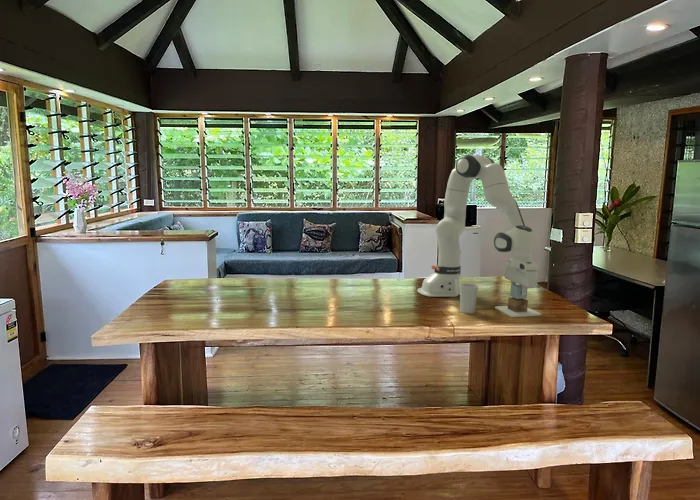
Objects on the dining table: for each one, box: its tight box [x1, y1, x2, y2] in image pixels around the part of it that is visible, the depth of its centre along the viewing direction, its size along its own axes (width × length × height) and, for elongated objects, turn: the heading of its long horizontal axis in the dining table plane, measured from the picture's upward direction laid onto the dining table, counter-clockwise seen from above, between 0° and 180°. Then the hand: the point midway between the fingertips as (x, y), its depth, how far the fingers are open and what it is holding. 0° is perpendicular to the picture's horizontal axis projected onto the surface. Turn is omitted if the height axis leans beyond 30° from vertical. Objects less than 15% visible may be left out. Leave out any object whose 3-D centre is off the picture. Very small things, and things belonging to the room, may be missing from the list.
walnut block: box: [507, 296, 529, 312], centre depth 214 cm, size 6×6×5 cm
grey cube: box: [509, 284, 528, 299], centre depth 213 cm, size 5×5×5 cm
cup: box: [459, 282, 479, 314], centre depth 213 cm, size 8×8×12 cm
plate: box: [494, 305, 542, 318], centre depth 215 cm, size 14×14×1 cm
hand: (518, 293), depth 213 cm, fingers open, 5 cm apart
